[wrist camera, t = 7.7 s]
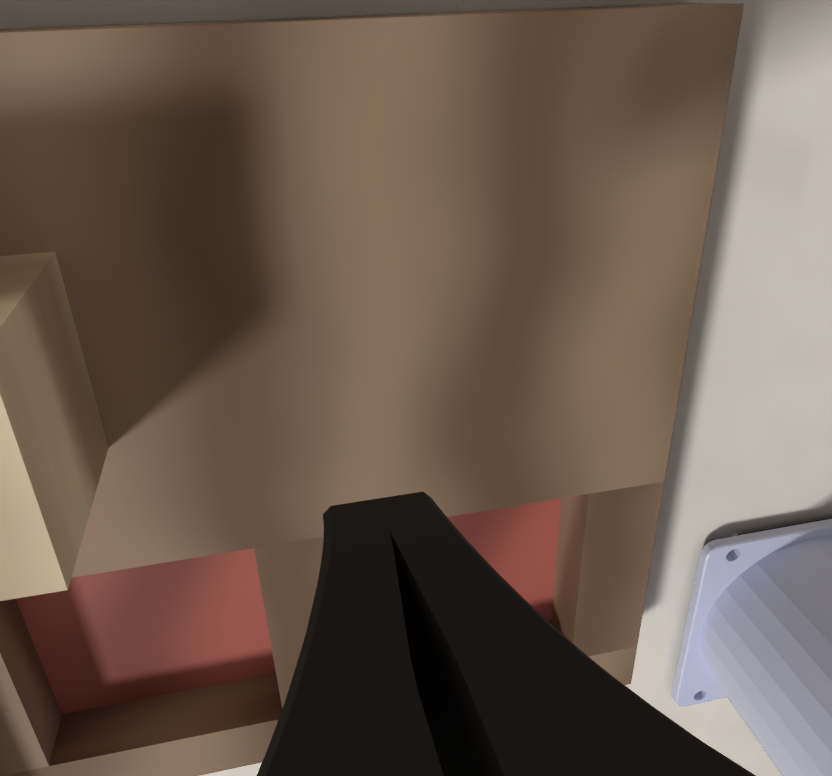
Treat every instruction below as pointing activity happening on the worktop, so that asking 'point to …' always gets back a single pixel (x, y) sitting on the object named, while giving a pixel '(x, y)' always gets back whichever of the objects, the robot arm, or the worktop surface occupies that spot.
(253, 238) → the trap deck
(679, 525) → the worktop surface
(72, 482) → the maple block
